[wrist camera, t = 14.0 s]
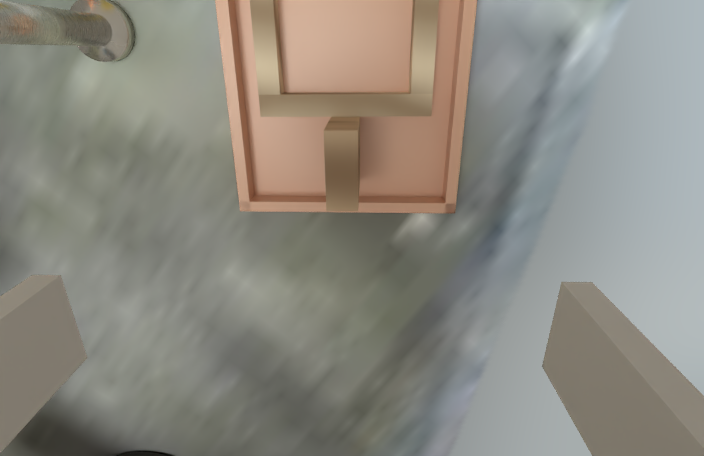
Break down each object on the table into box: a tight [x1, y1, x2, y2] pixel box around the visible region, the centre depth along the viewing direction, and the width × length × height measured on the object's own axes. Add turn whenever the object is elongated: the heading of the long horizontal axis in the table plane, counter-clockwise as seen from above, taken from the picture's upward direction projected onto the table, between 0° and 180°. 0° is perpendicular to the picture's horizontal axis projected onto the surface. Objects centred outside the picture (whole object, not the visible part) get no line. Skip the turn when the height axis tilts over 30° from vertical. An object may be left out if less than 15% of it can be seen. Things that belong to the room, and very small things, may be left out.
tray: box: [215, 0, 477, 213], centre depth 28 cm, size 22×17×2 cm
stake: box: [0, 0, 135, 62], centre depth 22 cm, size 4×6×15 cm
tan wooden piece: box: [250, 0, 439, 211], centre depth 26 cm, size 17×12×7 cm
